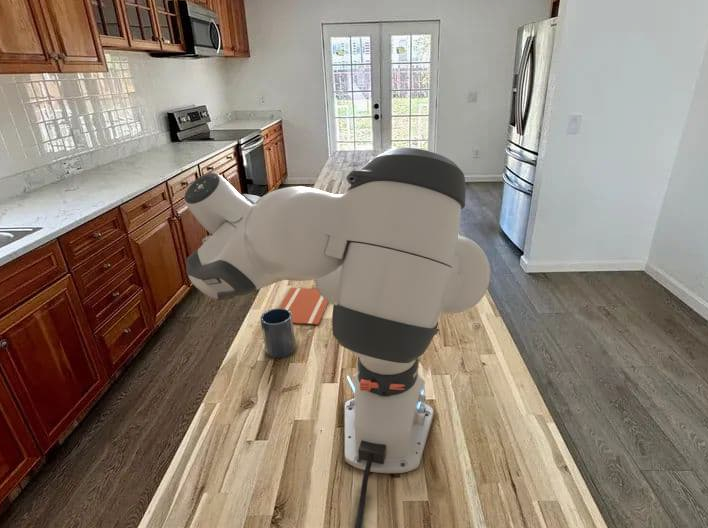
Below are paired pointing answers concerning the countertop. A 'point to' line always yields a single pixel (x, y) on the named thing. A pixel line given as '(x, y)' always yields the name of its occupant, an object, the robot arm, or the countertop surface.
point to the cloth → (305, 305)
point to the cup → (278, 332)
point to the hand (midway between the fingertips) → (272, 267)
